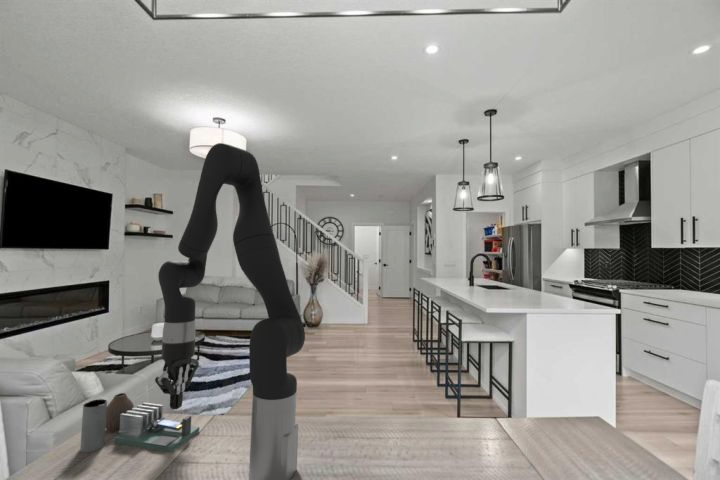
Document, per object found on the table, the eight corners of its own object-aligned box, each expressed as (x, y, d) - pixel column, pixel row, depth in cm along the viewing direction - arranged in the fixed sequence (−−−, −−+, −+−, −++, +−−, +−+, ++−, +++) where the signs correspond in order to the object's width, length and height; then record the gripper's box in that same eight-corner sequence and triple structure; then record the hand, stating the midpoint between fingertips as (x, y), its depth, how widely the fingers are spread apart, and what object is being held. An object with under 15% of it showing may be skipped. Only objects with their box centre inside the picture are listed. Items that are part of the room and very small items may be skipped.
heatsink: (169, 424, 93) (170, 405, 94) (145, 439, 85) (146, 418, 86) (144, 421, 95) (145, 402, 95) (118, 435, 87) (119, 414, 87)
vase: (117, 436, 89) (120, 401, 89) (95, 433, 90) (97, 398, 91) (140, 424, 95) (142, 391, 96) (118, 421, 97) (120, 388, 97)
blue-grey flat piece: (185, 426, 91) (186, 421, 91) (176, 432, 88) (177, 427, 88) (161, 421, 92) (161, 416, 92) (151, 427, 89) (152, 422, 89)
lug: (190, 432, 90) (191, 416, 90) (185, 436, 88) (186, 419, 88) (185, 431, 90) (186, 415, 90) (179, 435, 88) (180, 418, 88)
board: (199, 431, 93) (199, 426, 93) (170, 452, 82) (170, 446, 82) (146, 424, 96) (147, 418, 96) (112, 443, 86) (113, 437, 86)
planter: (76, 453, 81) (79, 407, 81) (85, 443, 85) (88, 399, 86) (99, 451, 82) (102, 406, 82) (107, 441, 86) (110, 398, 87)
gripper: (173, 345, 84) (170, 421, 83) (208, 334, 96) (205, 399, 96) (146, 343, 85) (142, 417, 84) (183, 332, 98) (181, 396, 97)
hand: (176, 407), depth 90 cm, fingers closed
